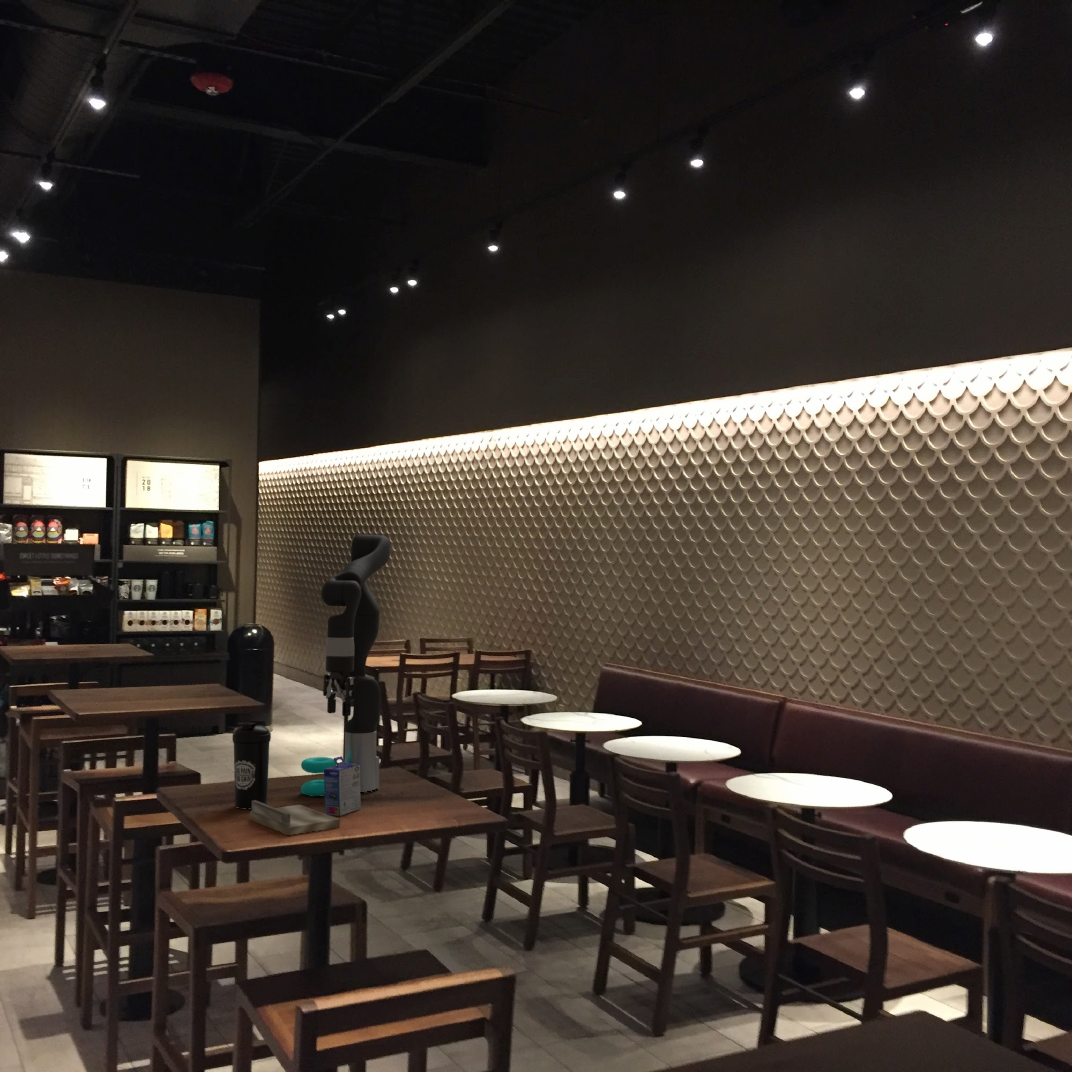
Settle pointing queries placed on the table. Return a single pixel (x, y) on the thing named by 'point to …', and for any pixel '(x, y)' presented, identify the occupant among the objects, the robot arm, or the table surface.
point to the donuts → (315, 767)
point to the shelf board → (292, 818)
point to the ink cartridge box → (342, 788)
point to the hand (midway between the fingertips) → (338, 714)
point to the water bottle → (251, 763)
